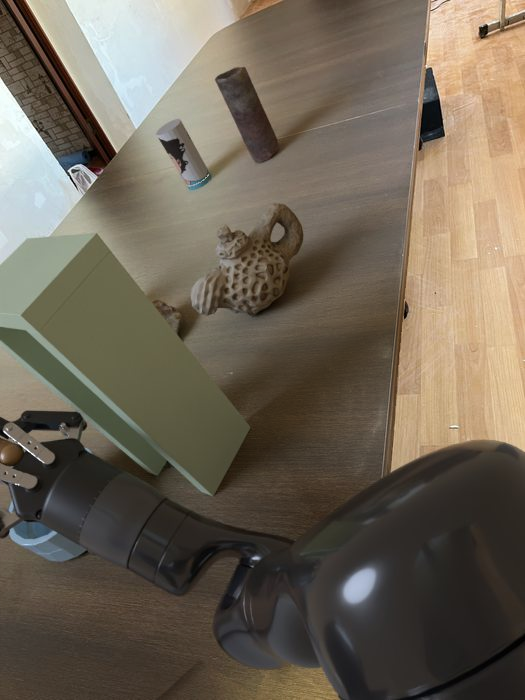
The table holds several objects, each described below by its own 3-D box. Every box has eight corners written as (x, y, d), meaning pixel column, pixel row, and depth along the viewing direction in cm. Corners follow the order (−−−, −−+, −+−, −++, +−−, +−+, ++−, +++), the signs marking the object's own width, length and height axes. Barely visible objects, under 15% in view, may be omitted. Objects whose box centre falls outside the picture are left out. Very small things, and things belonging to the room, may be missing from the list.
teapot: (232, 355, 75) (181, 284, 65) (201, 325, 84) (152, 258, 74) (336, 271, 78) (302, 190, 68) (296, 250, 87) (261, 176, 77)
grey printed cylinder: (202, 172, 129) (171, 118, 119) (216, 174, 124) (185, 118, 114) (183, 188, 127) (151, 135, 117) (197, 191, 122) (164, 135, 112)
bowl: (79, 579, 60) (45, 561, 56) (22, 542, 68) (-11, 525, 64) (142, 480, 66) (115, 457, 62) (83, 457, 74) (56, 436, 70)
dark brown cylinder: (251, 155, 123) (213, 75, 110) (277, 141, 121) (242, 58, 108) (255, 167, 117) (216, 83, 104) (283, 152, 116) (247, 66, 103)
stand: (213, 496, 59) (20, 315, 39) (148, 472, 67) (-45, 308, 46) (250, 427, 64) (96, 232, 43) (186, 411, 71) (27, 238, 50)
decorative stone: (180, 292, 84) (148, 367, 77) (194, 308, 87) (164, 381, 80) (139, 296, 89) (105, 368, 81) (153, 311, 92) (122, 381, 84)
